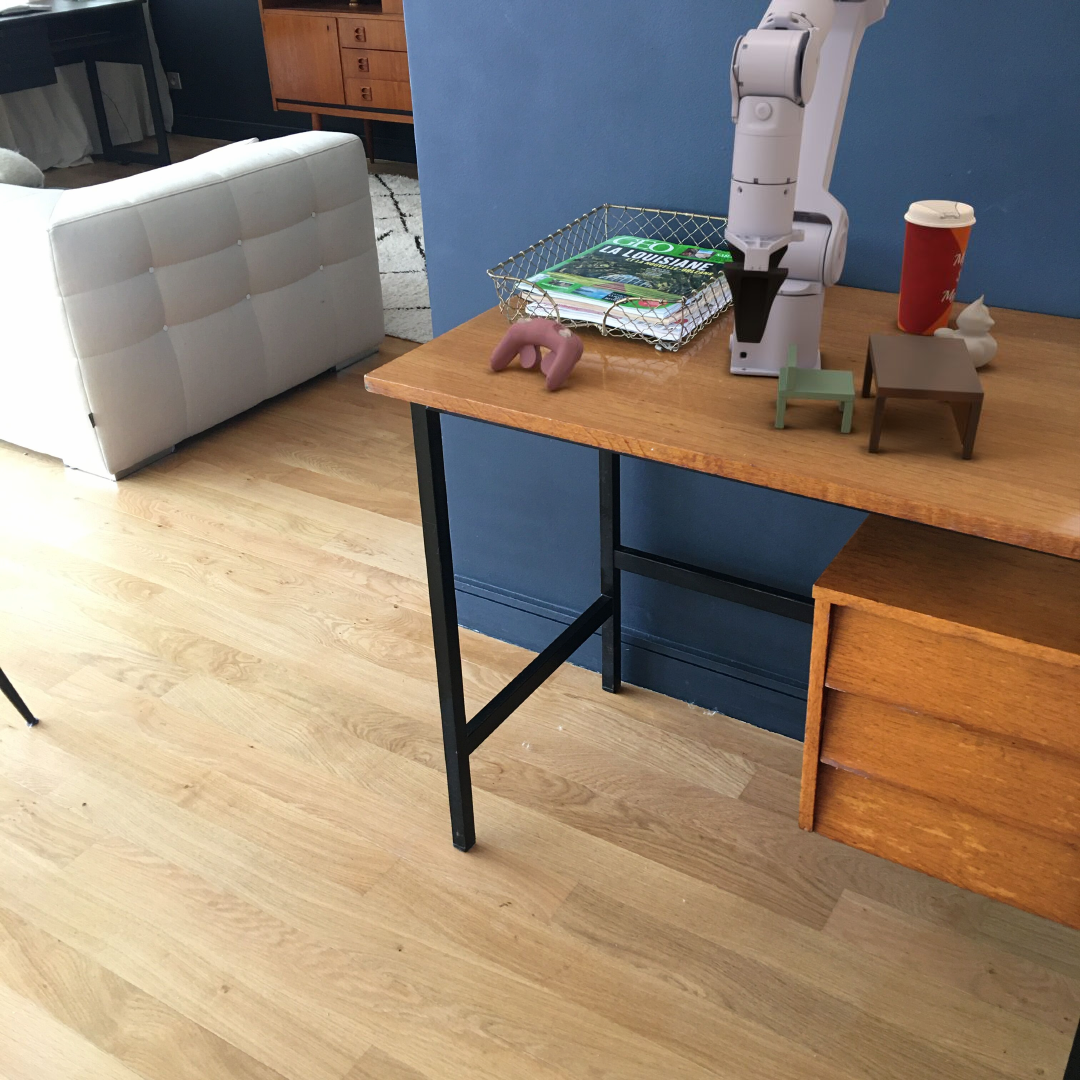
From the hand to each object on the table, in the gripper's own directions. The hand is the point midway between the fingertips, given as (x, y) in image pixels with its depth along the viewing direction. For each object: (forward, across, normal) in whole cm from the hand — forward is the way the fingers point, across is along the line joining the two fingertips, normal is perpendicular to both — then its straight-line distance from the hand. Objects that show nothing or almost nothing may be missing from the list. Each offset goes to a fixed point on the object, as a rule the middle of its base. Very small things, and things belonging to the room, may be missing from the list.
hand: (749, 329), depth 103 cm
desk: (+9, +2, -16) cm, 19 cm away
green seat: (+9, +2, -7) cm, 12 cm away
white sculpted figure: (+8, +19, -23) cm, 31 cm away
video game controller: (+9, +9, +22) cm, 26 cm away
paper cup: (+8, +31, -20) cm, 38 cm away
